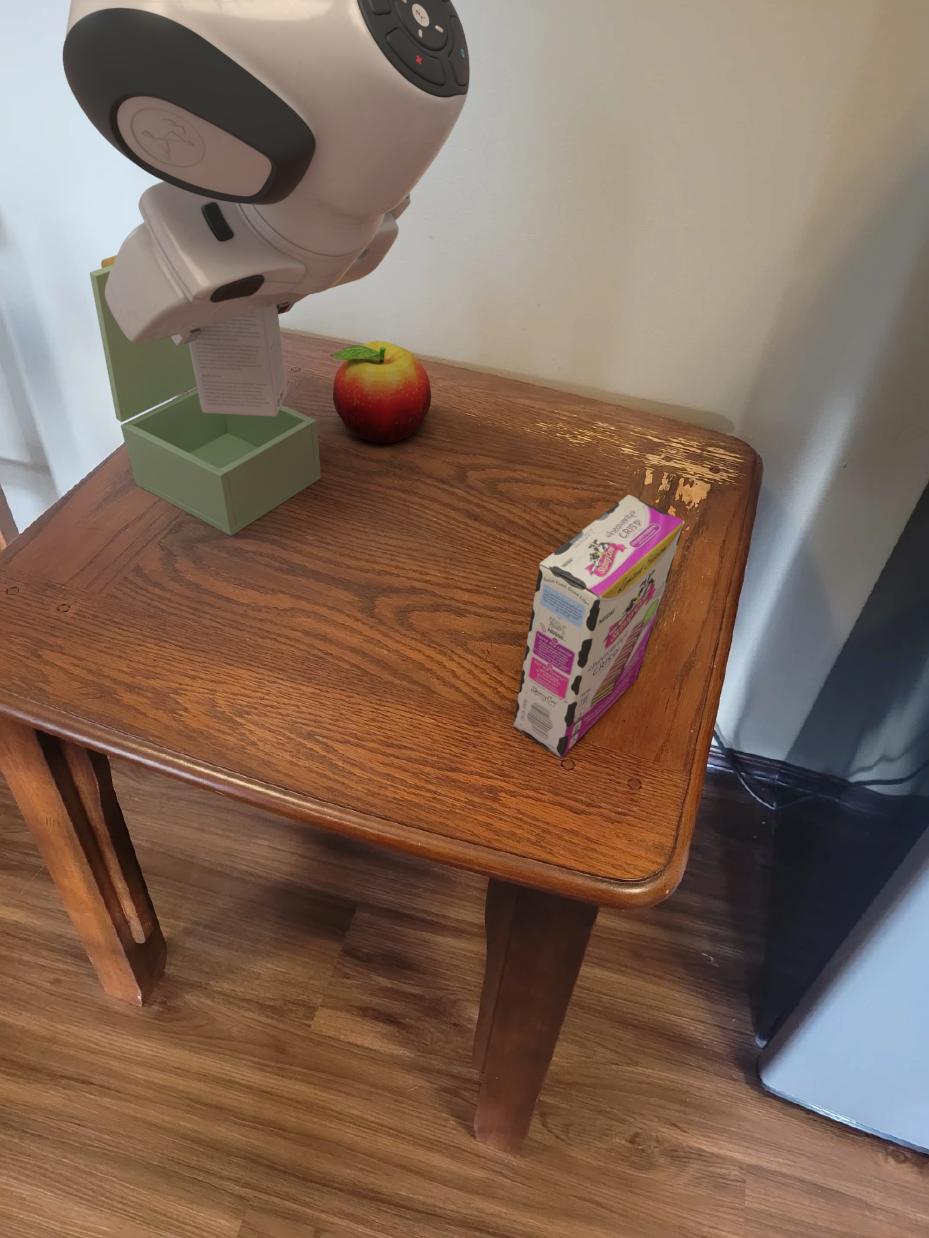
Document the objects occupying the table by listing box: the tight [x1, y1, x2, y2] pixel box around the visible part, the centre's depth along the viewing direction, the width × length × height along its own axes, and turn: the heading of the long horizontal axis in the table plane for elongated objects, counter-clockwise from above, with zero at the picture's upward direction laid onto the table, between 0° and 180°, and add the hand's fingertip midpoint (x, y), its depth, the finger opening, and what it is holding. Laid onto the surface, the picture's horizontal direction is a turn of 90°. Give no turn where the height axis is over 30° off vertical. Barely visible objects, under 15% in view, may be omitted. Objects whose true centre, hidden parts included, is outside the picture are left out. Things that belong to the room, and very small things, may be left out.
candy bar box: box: [512, 494, 686, 759], centre depth 61 cm, size 11×5×16 cm, turn 140°
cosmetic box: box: [189, 305, 288, 416], centre depth 63 cm, size 6×4×12 cm
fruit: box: [329, 340, 432, 444], centre depth 92 cm, size 11×11×10 cm
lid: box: [89, 254, 197, 423], centre depth 80 cm, size 14×13×5 cm
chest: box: [120, 387, 322, 537], centre depth 85 cm, size 14×13×7 cm
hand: (228, 319), depth 63 cm, fingers closed on cosmetic box, 7 cm apart
